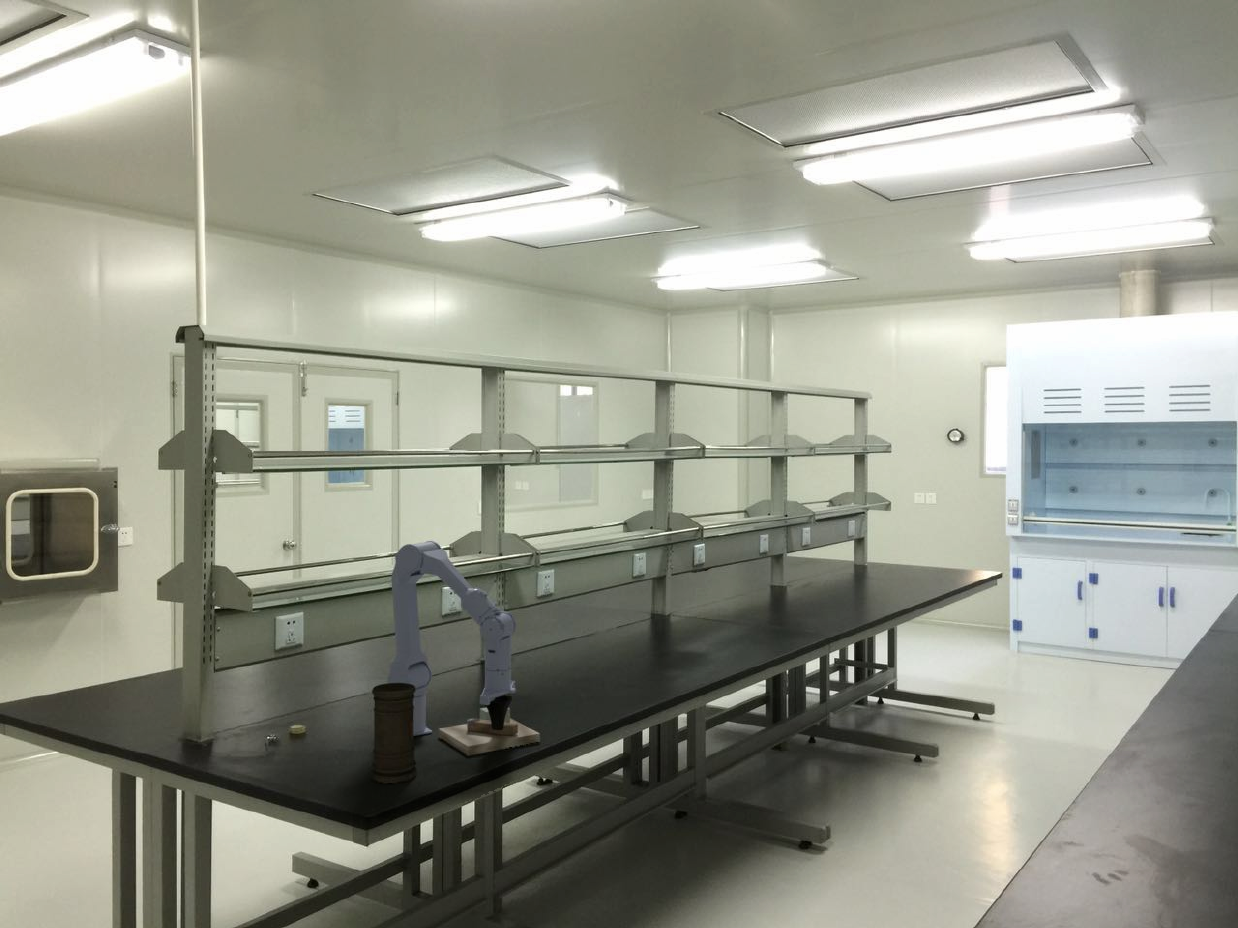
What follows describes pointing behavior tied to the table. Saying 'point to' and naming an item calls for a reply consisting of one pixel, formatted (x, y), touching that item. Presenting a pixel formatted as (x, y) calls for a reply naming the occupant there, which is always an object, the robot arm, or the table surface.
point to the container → (393, 733)
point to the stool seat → (486, 739)
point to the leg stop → (485, 715)
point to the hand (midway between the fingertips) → (497, 729)
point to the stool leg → (487, 727)
